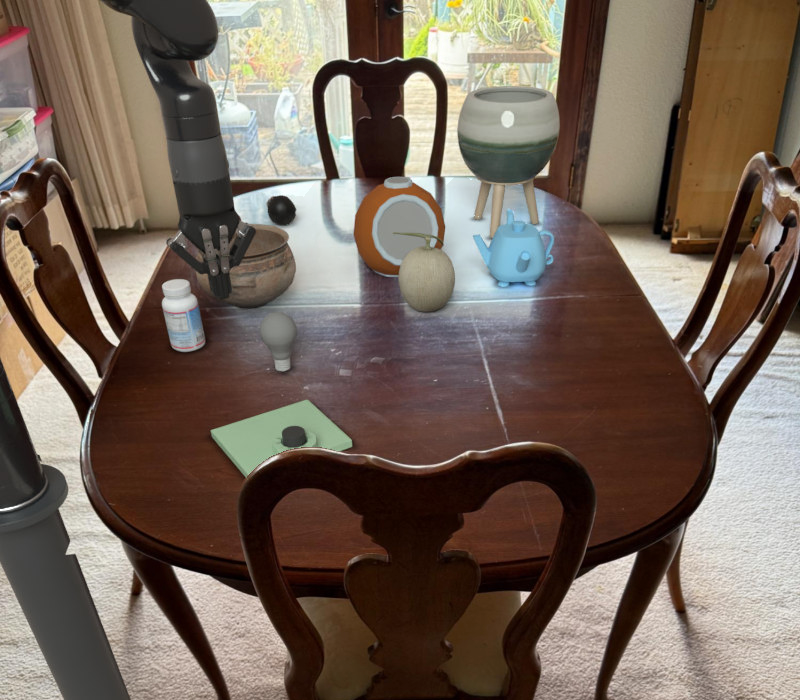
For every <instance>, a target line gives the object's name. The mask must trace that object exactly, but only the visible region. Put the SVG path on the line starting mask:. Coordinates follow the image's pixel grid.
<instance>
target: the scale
mask: <svg viewBox="0 0 800 700" xmlns="http://www.w3.org/2000/svg"><path fill="white" fill-rule="evenodd" d="M290 426H300V427H302V428H304V430H305V436H306V443H305V444H304V445H303V446H300V447H295V448H301V447H322V448H327V449H332V450H335V451H339V452H342V451H345V450H347V449H350V448H352V447H353V440H352V439H351V438H350V437H349V436H348V434H346V433H345V432H344V431H343V430H342V429H341V428H340V427H338V426H337V425H336V424H335V423H334V422H333V421H332V420H331V419H330V418H329V417H327V416H326V415H325V414H324V413H323V412H322V411H321V410H320V409H319V408H318V407H316V405H314V404H313V403H312V401H310V400H309V399H305V400H304V399H303V400H301V401H297V402H295V403H291V404H288V405H285V406H282V407H279V408H277V409H273V410H270V411H266V412H264V413H261V414H258V415H254V416H251V417H247V418H245V419H242V420H238V421H235V422H232V423H229V424H226V425H223V426H219V427H217V428H214V429H210V434H211V438H212V439H213V440H214V441H215V442H216V444H217V445H218V447H220V449H221V450H222V451H223V453H224V454H225V455H226V456H227V458H229V459H230V460H231V461H232V463H233V464H234V465H235V466H236V467H237V469H238V470H239V471H240V472H241V474H242V475H243V476H244V477H245V478H246V479H247V476H248V475H249V474H250V473H251V472H252V471H253V470H254V469H255V468H256V467H257V466H258V465H259V464H261V463H262V462H263V461H265V460H266V459H268V458H269V457H271V456H273V455H276V454H278V453H281V452H283V451H286V450H290V449H294V448H289V447H286V446H284V444H283V438H282V431H283V430H284V429H285V428H287V427H290Z"/></svg>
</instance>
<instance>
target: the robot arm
mask: <svg viewBox="0 0 800 700" xmlns="http://www.w3.org/2000/svg"><path fill="white" fill-rule="evenodd" d="M99 1H100V2H101V3H102V4H103V5H105V6H106V7H108V8H109V9H111V10H113V11H114V12H116V13H120V14H123V15H127V16H130V18H131V19H130V20H131V21H130V22H131V30H132V37H133V41H134V45H135V47H136V50H137V53H138V56H139V57H140V58H139V59H140V60H141V62H142V65H143V67H144V70H145V72H146V75H147V77H148V79H149V82H150V84H151V86H152V88H153V90H154V93H155V95H156V97H157V99H158V103H159V105H160V112H161V118H162V123H163V128H164V129H163V130H164V134H165V139H166V148H167V150H166V151H167V158H168V163H169V170H170V174H171V179H172V183H173V189H174V194H175V199H176V205H177V209H178V214H179V220H178V222H177V223H178V224H177V229H178V231H177V232H176V233H175V234H174V236H173V237H170V238H167V239H166V243H165V244H166V246H167V247H168V248H169V249H171V251H173V253H175V254H176V255H177V256H178V257H179V258H181V260H183V261H184V262H185V263H186V264H187V265H188V266H189V267H191V268H192V269H193V270H194V271H195V270H196V271H197V272H198V273H199V274H207V275H208V280H209V286H210V291H211V292H212V294H213V295H214V296H215V297H217V298H218V299H219V300H222V299H226V298H229V294H230V293H231V292H232V286H231V280H230V274H229V272H230V270H231V269H232V268H233V267H234V266H239V265H240V263H241V261H242V259H243V257H244V255H245V253H246V251H247V249H248V247H249V246H250V244H251V242H252V240H253V238H254V236H255V234H256V229H255V228H254V227H252V226H251V225H250V224H251V223H248V222H244V221H242V219H241V220H240V218H241V217H240V218H239V216H240V215H239V214H238V212H237V211H236V209H235V201H234V195H233V187H232V181H231V175H230V163H229V160H228V155H227V150H226V146H225V142H224V139H223V135H222V130H221V123H220V117H219V111H218V103H217V100H216V95H215V92H214V89H213V87H212V86H211V85H210V84H209V83H207V82H205V81H203V80H201V79H200V78H198V77H197V76H196V75H195V73H194V72H193V70H192V68H191V65H190V62H198V61H203V60H205V59H207V58H208V57H209V56H211V55H212V54H213V52H214V51H215V49H216V47H217V44H218V41H219V24H218V21H217V17H216V14H215V12H214V10H213V8H212V6H211V4H210V3H209V1H208V0H99ZM235 231H236V235H237V236H236V238H235V240H234V242H233V244H232V246H231V248H230V250H229V244H230V242H231V240H232V238H233V236H234V233H235ZM186 239H187V240H188V242H190V243H191V244H192V245H193V246H194V247H195V248H196V247H197V248H198V249H199V251H200V254H201V256H202V259H203V262H199V261H198V260H196V258H195V257H194V255H192V254H191V253H190V252H189V251H187V249H188V248H189V247H188V243H187V242H186ZM197 248H196V249H197ZM198 249H197V250H198ZM196 271H195V272H196ZM219 300H218V301H219ZM42 462H43V461H42V458H41V455H40V454H38V453H37V451H36V448H35V444H34V442H33V440H32V437H31V434H30V432H29V429H28V427H27V424H26V421H25V419H24V416H23V414H22V411H21V408H20V406H19V403H18V400H17V398H16V394H15V392H14V390H13V387H12V385H11V382H10V380H9V376H8V374H7V371H6V369H5V367H4V363H3V361H2V358H1V357H0V514H7V513H12V512H16V511H19V510H22V509H24V508H27V507H29V506H31V505H33V504H34V503H36V502H37V501H39V500H40V499H41V498H42V497H43V496H44V495H45V494H46V492H47V490H48V487H49V482H48V480H47V477H46V475H45V474H44V470H43V468H42V466H41V464H42Z"/></svg>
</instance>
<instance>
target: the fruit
mask: <svg viewBox="0 0 800 700" xmlns="http://www.w3.org/2000/svg"><path fill="white" fill-rule="evenodd" d="M393 234H401V235H409V236H417V237H421V238H424V239H425V240H426V246H421V247H417V248H415V249H413V250H411V251H410V252H409V253H408V254H407V255H406V256H405V257H404V259H403V261H402V263H401V265H400V270H399V277H398V287H399V290H400V293H401V296H402V298H403V299H404V301H405V302H406V303H407V305H409V306H410V308H412V309H414V310H416V311H418V312H425V313H426V312H434V311H437V310H440V309H441V308H443V307H444V306H446V305H447V304H448V302H449V301H450V300H451V298H452V297H453V293H454V290H455V285H456V284H455V283H456V273H455V268H454V264H453V262H452V260H451V258H450V256H449V255H448V254H447V253H446V252H444V251H443V250H442V249H441V250H440V249H438V248H434V247H430V241H431V239H430V238H435V239H437V240H439V241H440V243H441V244H442V246H443V247H444V246H445V244H444V242H442V240H441V239H440V238H438V237H436V236H434V235H428V234H421V233H398V232H393Z"/></svg>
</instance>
